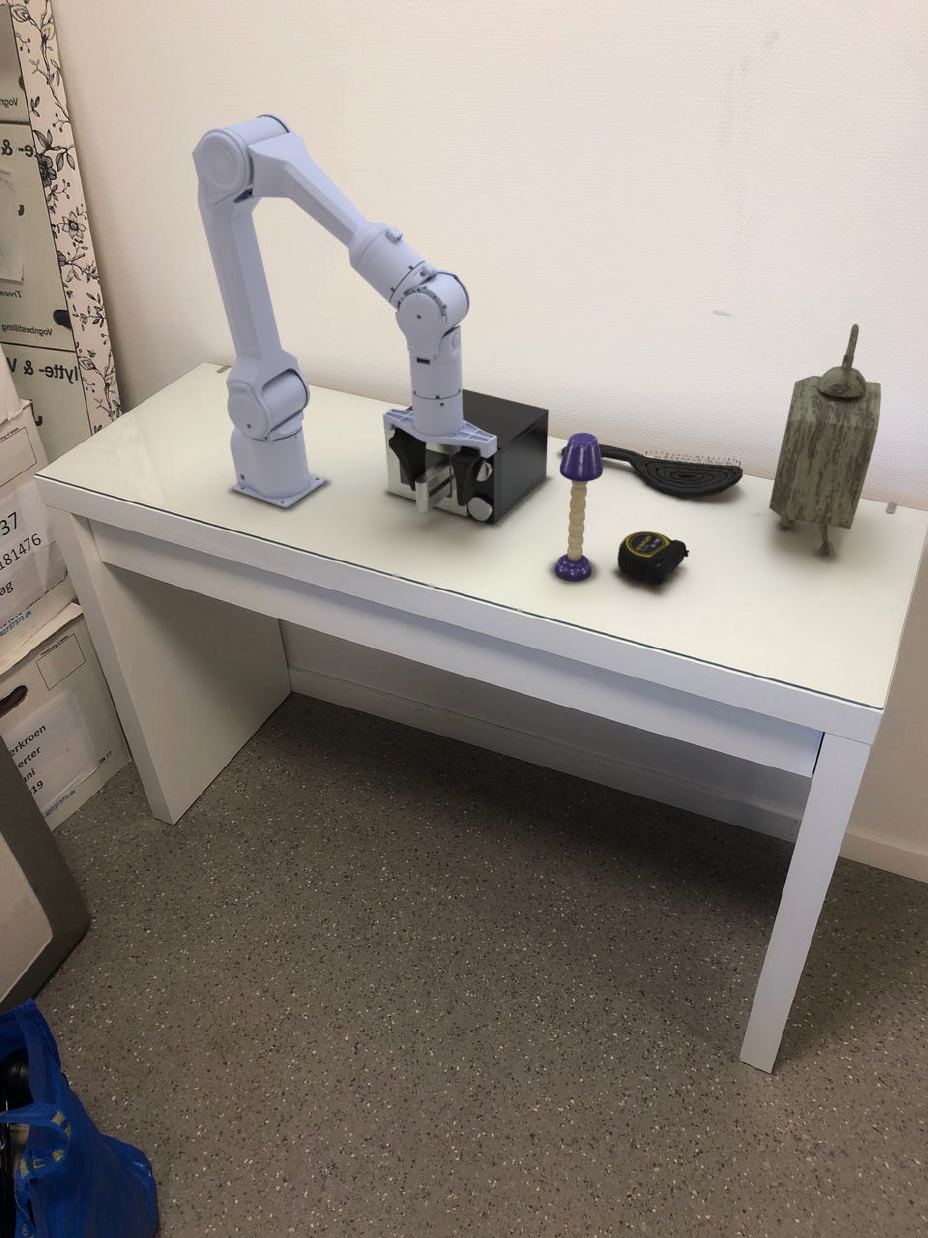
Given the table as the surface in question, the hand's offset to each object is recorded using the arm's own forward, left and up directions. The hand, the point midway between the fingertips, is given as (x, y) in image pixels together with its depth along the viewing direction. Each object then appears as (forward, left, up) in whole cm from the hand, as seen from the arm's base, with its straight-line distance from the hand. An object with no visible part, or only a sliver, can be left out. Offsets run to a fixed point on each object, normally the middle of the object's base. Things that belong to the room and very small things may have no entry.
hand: (441, 494), depth 111 cm
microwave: (-3, +10, -5) cm, 12 cm away
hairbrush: (+16, +26, -5) cm, 31 cm away
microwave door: (-5, +2, -5) cm, 7 cm away
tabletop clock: (+38, +23, -5) cm, 45 cm away
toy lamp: (+18, +1, -5) cm, 19 cm away
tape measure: (+26, +5, -5) cm, 27 cm away
